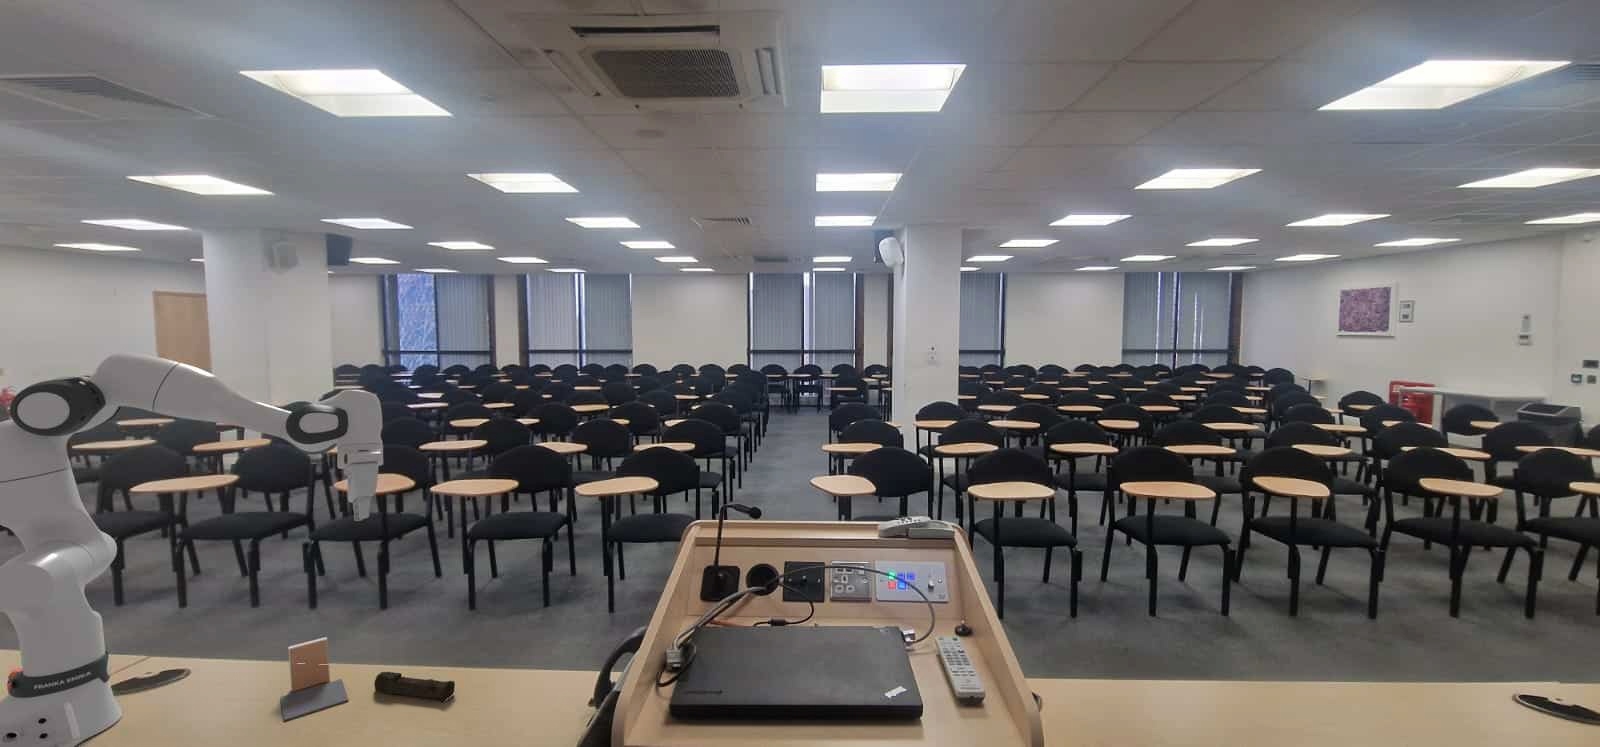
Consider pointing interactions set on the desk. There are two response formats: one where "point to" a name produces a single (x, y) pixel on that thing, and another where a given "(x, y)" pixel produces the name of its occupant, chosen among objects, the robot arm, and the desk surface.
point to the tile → (309, 664)
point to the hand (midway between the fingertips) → (361, 519)
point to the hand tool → (413, 686)
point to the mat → (313, 699)
